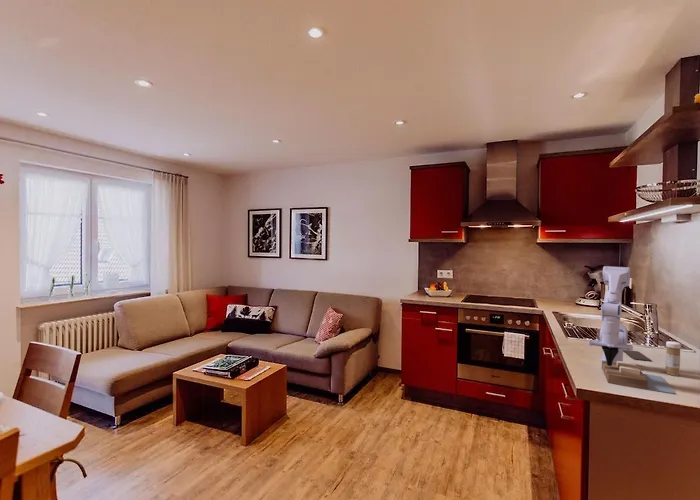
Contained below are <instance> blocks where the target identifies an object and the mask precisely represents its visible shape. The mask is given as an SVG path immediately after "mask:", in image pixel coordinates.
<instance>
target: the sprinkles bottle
mask: <svg viewBox="0 0 700 500" xmlns="http://www.w3.org/2000/svg"><path fill="white" fill-rule="evenodd" d="M665 347H666V351H665V352H666V353H665V371H664V372H665V374H667V375H670V376H673V377H678V376H680V374H681V373H680V369H681V368H680V366H681V349H682V345H681V343H680V342H678V341H677V342H676V341H669V340H668V341H667V340H666V343H665Z"/></svg>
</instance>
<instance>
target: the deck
mask: <svg viewBox="0 0 700 500" xmlns="http://www.w3.org/2000/svg"><path fill="white" fill-rule="evenodd" d="M637 367H638V368H639V366H638V365H637ZM601 370H602V372H603V375H604V376H605V379H606V381H607V383H608V384H612V385H618V386H623V387H630V388H637V389H642V390H648V388H647V387H648V380H647V379H646V377H645V376H644V375H643V374H644V373H643V372H642V370H641V369H640V368H639V370H640V376H639V375H633V374H627V373H621V372H620V371H619V369H618V367H617V362H612V366H608V365H607V361H604V360H602V361H601Z"/></svg>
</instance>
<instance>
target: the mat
mask: <svg viewBox="0 0 700 500" xmlns="http://www.w3.org/2000/svg"><path fill="white" fill-rule="evenodd" d="M643 375H644V376H645V377H646V379H647V380H648V387H647V391H653V392H658V393H659V392H660V393H666V394H671V395H676V394H677V393H676V391H674V389H673V388H672V387H671V385H669V384H668V383H667V381H666V380H665V379H664V377H662V376H661V375H654V374H647V373H643Z"/></svg>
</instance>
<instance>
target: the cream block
mask: <svg viewBox="0 0 700 500" xmlns="http://www.w3.org/2000/svg"><path fill="white" fill-rule="evenodd" d="M637 366H638V365H637V364H636V363H635V362H627V361H623V362H622V361H617V367H618V369H619V371H620V372H621V373H627V374H633V375H639V376H640V370H641V369H640V367H639V366H638V367H637ZM639 369H640V370H639Z"/></svg>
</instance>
